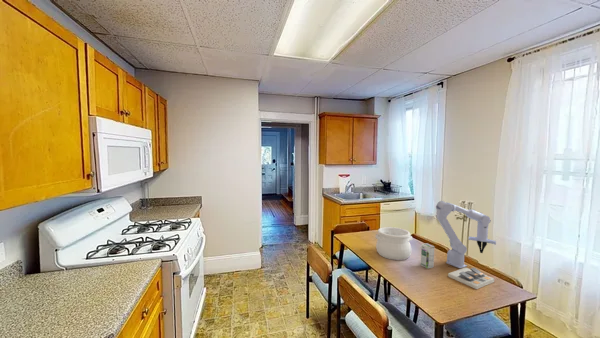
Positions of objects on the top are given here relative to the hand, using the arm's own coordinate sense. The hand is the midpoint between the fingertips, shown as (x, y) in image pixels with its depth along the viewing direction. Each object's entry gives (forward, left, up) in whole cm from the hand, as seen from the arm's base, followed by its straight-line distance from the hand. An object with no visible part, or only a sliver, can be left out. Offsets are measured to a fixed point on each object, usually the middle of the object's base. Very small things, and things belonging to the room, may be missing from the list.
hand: (481, 252), depth 166 cm
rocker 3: (+8, -19, -6) cm, 21 cm away
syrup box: (-16, -32, -10) cm, 37 cm away
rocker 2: (+8, -24, -6) cm, 26 cm away
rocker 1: (+8, -30, -6) cm, 31 cm away
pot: (-40, -37, -10) cm, 55 cm away
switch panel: (+7, -24, -9) cm, 27 cm away
